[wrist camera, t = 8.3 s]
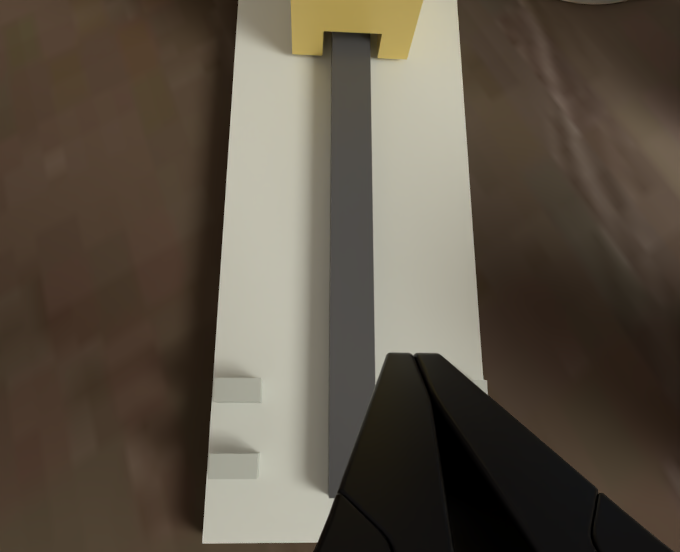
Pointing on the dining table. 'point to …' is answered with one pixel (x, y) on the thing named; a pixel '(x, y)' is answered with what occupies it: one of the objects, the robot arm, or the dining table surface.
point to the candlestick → (594, 1)
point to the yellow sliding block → (355, 23)
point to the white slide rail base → (331, 257)
